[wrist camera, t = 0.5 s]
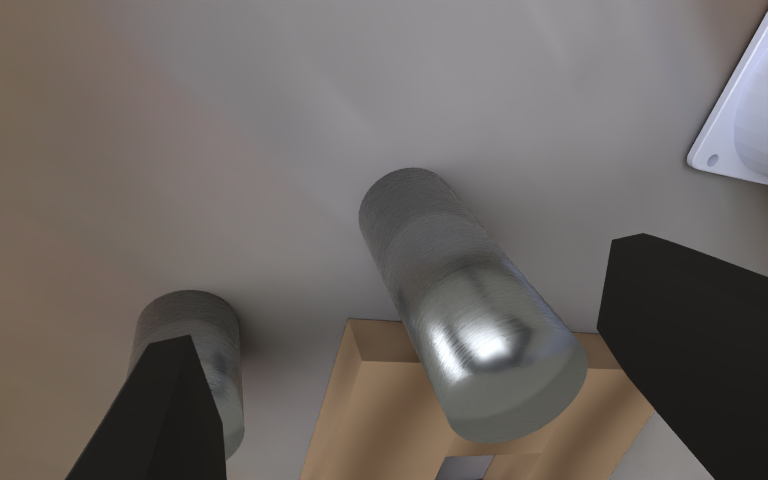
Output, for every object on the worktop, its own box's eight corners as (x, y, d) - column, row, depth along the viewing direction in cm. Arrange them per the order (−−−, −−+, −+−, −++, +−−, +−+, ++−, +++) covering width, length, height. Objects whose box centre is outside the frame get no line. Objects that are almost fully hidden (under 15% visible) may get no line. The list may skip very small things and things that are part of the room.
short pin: (245, 294, 20) (253, 393, 16) (231, 367, 22) (235, 474, 17) (139, 286, 19) (118, 391, 15) (133, 364, 20) (111, 479, 16)
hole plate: (645, 336, 28) (680, 371, 25) (525, 531, 34) (544, 571, 32) (348, 318, 22) (361, 360, 20) (276, 556, 29) (280, 605, 27)
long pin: (464, 176, 20) (613, 333, 12) (434, 258, 21) (550, 441, 14) (373, 160, 19) (478, 325, 11) (348, 249, 20) (425, 445, 13)
